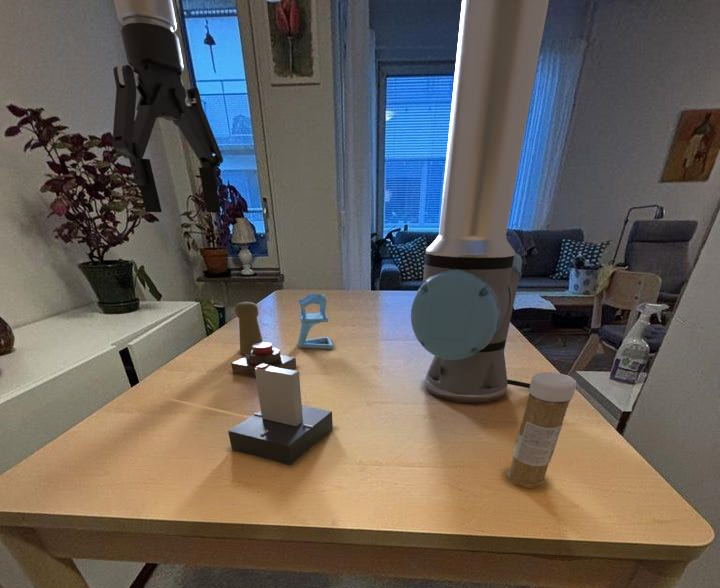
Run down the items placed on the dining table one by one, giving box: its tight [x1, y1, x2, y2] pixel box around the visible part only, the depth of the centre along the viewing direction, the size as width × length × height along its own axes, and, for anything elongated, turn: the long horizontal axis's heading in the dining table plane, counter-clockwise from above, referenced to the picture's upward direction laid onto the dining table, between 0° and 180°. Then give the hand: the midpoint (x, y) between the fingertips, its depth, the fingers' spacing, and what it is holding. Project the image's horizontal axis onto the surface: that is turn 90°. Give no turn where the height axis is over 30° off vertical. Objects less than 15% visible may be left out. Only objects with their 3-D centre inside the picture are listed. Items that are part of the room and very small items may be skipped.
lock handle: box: [255, 364, 303, 426], centre depth 55 cm, size 6×2×8 cm, turn 65°
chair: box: [297, 293, 334, 350], centre depth 97 cm, size 8×8×12 cm
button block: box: [230, 346, 297, 378], centre depth 83 cm, size 10×9×4 cm
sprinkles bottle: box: [507, 371, 578, 489], centre depth 47 cm, size 5×5×13 cm
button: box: [252, 341, 273, 355], centre depth 82 cm, size 4×4×2 cm
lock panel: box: [227, 404, 334, 466], centre depth 58 cm, size 10×12×3 cm
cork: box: [234, 301, 264, 356], centre depth 93 cm, size 6×6×11 cm
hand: (186, 212), depth 67 cm, fingers open, 13 cm apart
